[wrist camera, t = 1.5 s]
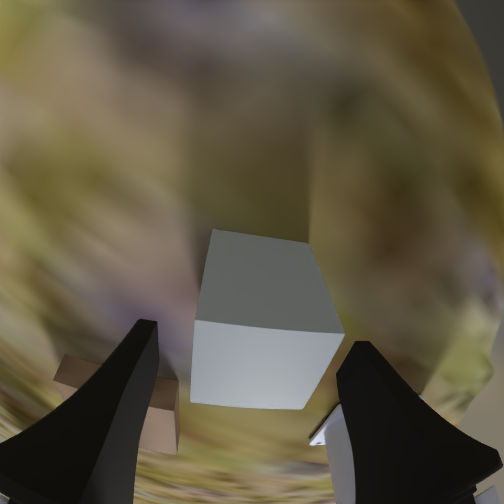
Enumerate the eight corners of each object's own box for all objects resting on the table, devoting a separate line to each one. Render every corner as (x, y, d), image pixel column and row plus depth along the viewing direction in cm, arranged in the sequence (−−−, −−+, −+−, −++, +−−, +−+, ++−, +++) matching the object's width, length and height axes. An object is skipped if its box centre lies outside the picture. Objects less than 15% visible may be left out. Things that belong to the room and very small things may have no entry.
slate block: (308, 243, 14) (345, 333, 8) (286, 315, 16) (302, 409, 11) (212, 228, 13) (194, 319, 8) (203, 305, 15) (190, 401, 10)
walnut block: (179, 376, 19) (173, 411, 16) (180, 428, 23) (177, 454, 21) (67, 350, 18) (52, 380, 15) (91, 408, 22) (84, 432, 20)
